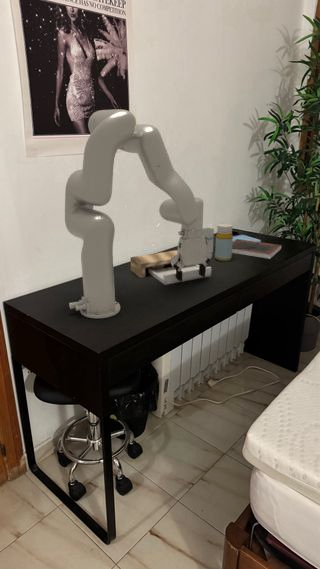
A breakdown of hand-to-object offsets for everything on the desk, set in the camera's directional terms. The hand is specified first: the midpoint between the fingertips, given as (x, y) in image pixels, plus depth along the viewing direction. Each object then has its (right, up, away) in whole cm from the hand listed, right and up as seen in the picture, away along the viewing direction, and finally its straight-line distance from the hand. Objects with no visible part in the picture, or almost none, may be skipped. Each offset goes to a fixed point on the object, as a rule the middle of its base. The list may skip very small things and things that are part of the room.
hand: (190, 277), depth 152 cm
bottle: (+16, +8, +25) cm, 31 cm away
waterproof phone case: (+30, +19, +53) cm, 63 cm away
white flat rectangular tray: (-4, +1, +8) cm, 9 cm away
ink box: (+8, +13, +37) cm, 40 cm away
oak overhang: (-8, +4, +14) cm, 17 cm away
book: (+31, +13, +37) cm, 50 cm away
